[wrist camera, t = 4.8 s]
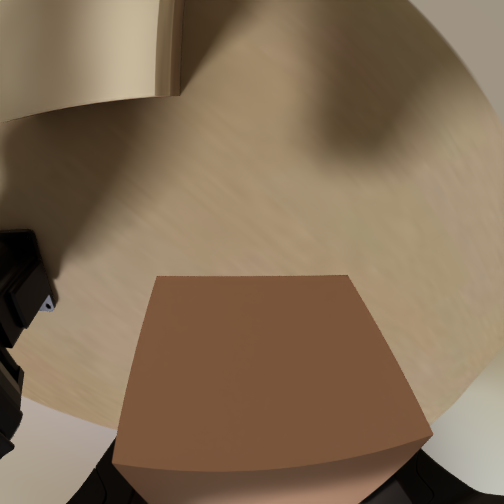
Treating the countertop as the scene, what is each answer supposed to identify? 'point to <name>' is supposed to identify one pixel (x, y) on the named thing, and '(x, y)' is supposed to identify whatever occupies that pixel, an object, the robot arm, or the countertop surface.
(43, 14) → the beige stepped block
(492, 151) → the countertop surface
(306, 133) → the countertop surface
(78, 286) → the countertop surface
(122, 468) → the brick
